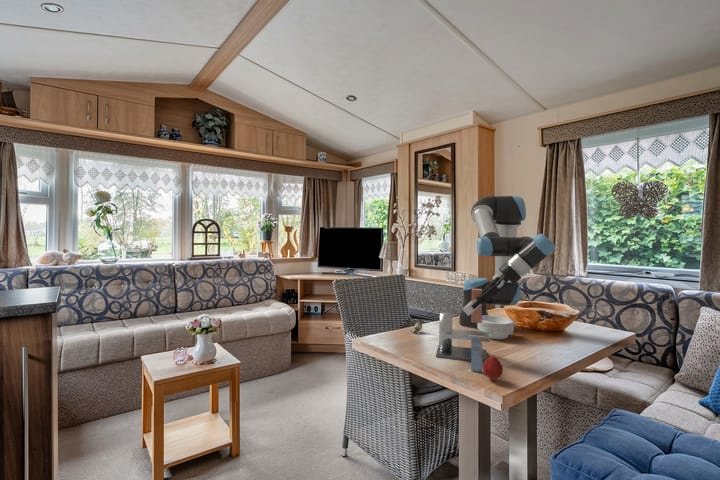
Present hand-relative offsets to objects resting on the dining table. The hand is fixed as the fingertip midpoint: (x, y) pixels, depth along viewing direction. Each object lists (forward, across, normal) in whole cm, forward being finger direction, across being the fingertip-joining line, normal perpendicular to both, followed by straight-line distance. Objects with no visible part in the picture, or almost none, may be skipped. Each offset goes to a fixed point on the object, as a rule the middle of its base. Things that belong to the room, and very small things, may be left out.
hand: (465, 311), depth 132 cm
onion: (+6, -21, -18) cm, 28 cm away
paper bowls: (+3, +30, -21) cm, 37 cm away
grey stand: (+12, -5, -11) cm, 17 cm away
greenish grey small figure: (+26, +25, +3) cm, 37 cm away
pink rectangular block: (0, 0, -5) cm, 5 cm away
